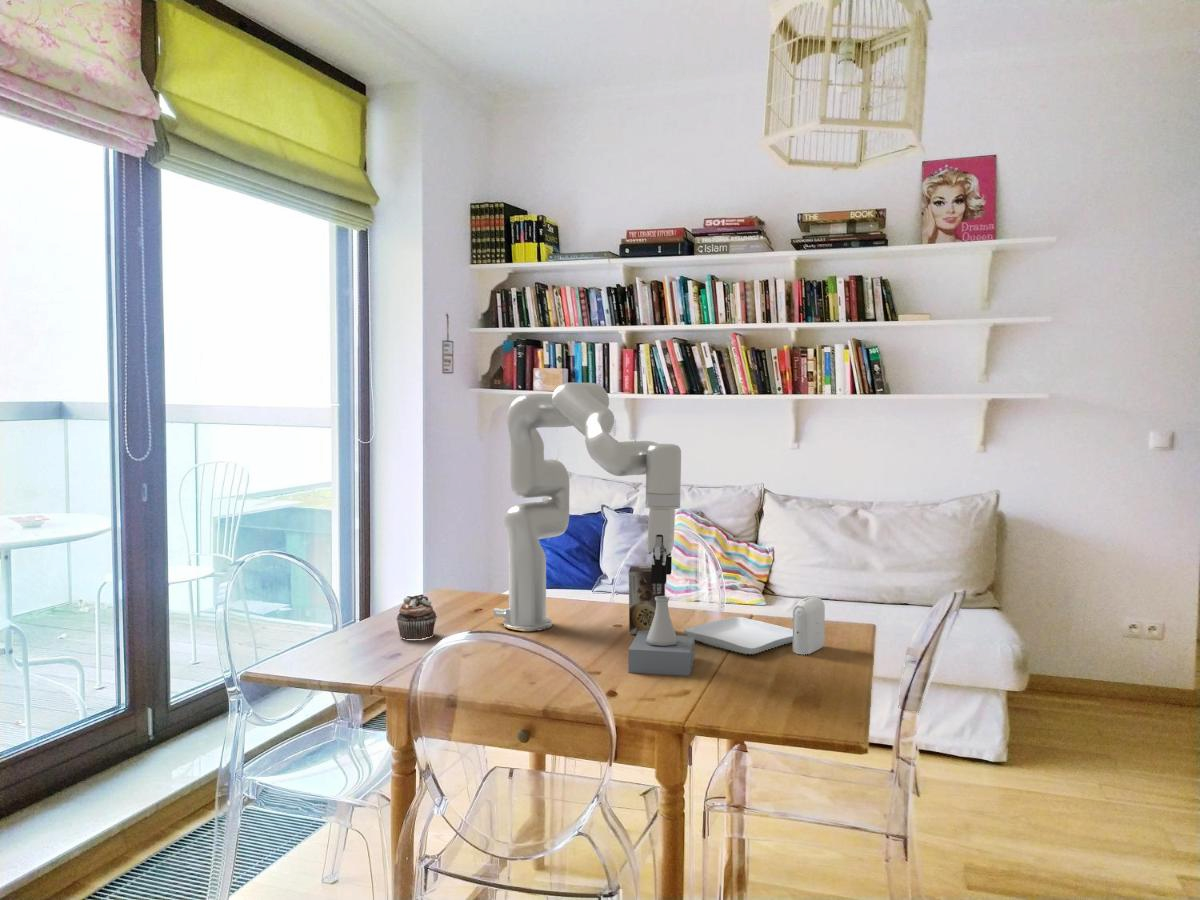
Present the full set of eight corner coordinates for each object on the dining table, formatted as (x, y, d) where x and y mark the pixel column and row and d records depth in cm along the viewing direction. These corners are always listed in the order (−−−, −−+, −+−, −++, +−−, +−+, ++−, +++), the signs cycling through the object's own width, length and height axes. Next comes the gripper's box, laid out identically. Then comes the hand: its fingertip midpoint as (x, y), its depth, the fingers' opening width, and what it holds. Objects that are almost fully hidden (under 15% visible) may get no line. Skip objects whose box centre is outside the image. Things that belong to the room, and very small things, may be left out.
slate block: (628, 672, 189) (628, 649, 189) (637, 655, 202) (637, 633, 202) (689, 676, 187) (689, 652, 186) (694, 658, 200) (694, 636, 199)
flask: (643, 638, 197) (643, 594, 197) (675, 637, 198) (675, 593, 198) (648, 647, 190) (648, 601, 190) (681, 646, 191) (681, 600, 190)
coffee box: (665, 629, 225) (666, 566, 224) (665, 635, 218) (665, 571, 218) (629, 628, 226) (630, 565, 225) (628, 634, 219) (628, 570, 218)
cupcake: (389, 636, 218) (389, 595, 218) (424, 629, 224) (424, 590, 224) (408, 644, 211) (408, 602, 210) (444, 637, 217) (443, 596, 217)
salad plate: (806, 644, 212) (806, 630, 212) (752, 662, 198) (752, 647, 198) (736, 627, 228) (736, 614, 228) (680, 643, 213) (681, 629, 213)
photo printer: (807, 657, 201) (807, 603, 200) (789, 653, 203) (790, 600, 203) (826, 647, 209) (827, 595, 208) (809, 644, 211) (810, 592, 211)
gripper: (650, 495, 201) (649, 569, 203) (640, 505, 185) (638, 586, 186) (683, 496, 200) (682, 571, 201) (676, 506, 183) (674, 588, 184)
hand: (661, 578), depth 194 cm, fingers open, 9 cm apart
